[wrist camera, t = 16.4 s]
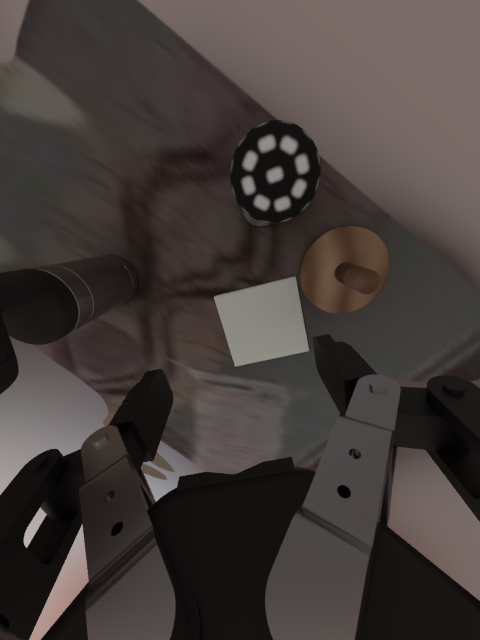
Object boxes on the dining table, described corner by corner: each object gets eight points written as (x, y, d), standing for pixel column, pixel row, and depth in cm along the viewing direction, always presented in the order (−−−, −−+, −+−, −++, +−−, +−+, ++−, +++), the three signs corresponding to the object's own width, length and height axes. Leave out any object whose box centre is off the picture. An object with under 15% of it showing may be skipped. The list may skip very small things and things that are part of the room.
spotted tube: (247, 233, 43) (246, 235, 24) (231, 184, 40) (217, 142, 21) (292, 217, 42) (328, 205, 23) (279, 164, 39) (308, 103, 20)
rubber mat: (235, 364, 52) (235, 366, 51) (214, 295, 47) (213, 296, 46) (308, 349, 50) (309, 350, 50) (294, 275, 45) (295, 276, 44)
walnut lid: (306, 319, 43) (321, 341, 34) (292, 239, 38) (305, 241, 29) (387, 300, 41) (424, 319, 32) (383, 215, 36) (424, 210, 28)
